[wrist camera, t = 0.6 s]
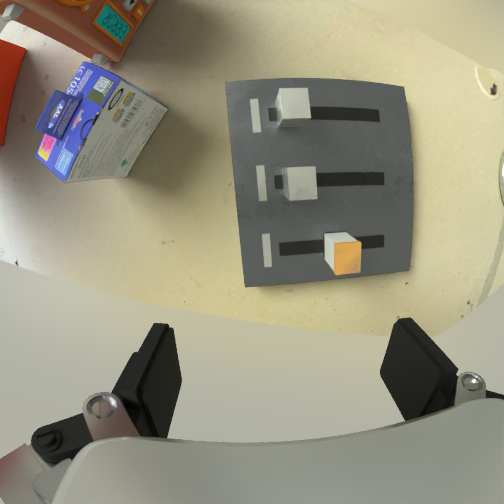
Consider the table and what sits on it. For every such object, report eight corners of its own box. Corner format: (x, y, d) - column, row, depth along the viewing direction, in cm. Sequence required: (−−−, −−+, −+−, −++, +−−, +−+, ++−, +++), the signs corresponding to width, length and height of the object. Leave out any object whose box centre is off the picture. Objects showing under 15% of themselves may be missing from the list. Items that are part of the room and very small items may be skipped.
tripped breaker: (346, 231, 28) (361, 242, 24) (346, 257, 29) (360, 272, 25) (323, 233, 28) (335, 244, 24) (324, 259, 29) (335, 274, 25)
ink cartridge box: (136, 88, 27) (69, 49, 13) (170, 107, 27) (113, 69, 14) (95, 157, 29) (14, 159, 15) (126, 178, 30) (49, 190, 16)
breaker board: (392, 92, 26) (425, 77, 19) (398, 262, 33) (429, 285, 25) (228, 90, 27) (220, 66, 19) (245, 277, 33) (243, 308, 26)
